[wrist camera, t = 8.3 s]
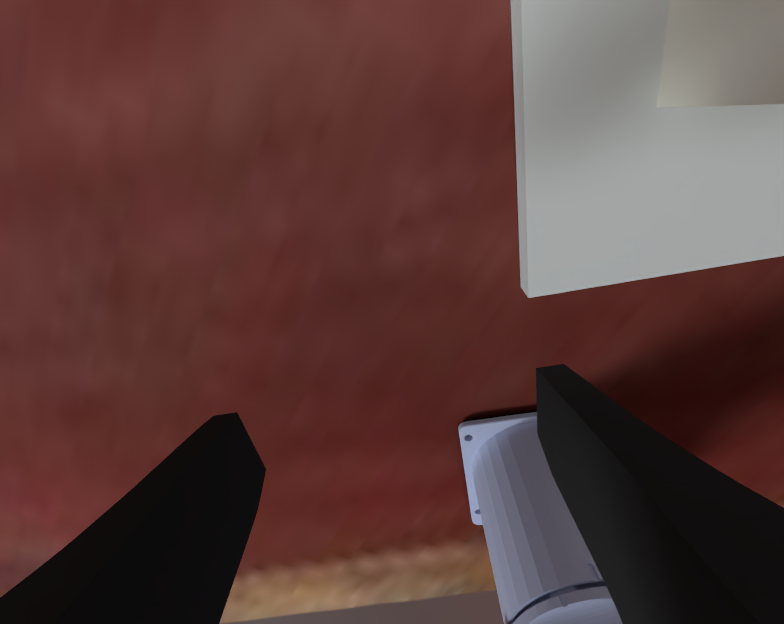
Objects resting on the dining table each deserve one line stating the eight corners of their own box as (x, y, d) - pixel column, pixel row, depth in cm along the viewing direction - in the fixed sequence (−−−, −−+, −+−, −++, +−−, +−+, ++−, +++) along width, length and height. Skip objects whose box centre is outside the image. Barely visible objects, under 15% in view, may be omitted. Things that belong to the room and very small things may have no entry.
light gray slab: (835, 234, 17) (1015, 282, 12) (520, 287, 18) (567, 350, 13) (1114, -522, 9) (2062, -1361, 4) (499, -323, 10) (600, -747, 5)
